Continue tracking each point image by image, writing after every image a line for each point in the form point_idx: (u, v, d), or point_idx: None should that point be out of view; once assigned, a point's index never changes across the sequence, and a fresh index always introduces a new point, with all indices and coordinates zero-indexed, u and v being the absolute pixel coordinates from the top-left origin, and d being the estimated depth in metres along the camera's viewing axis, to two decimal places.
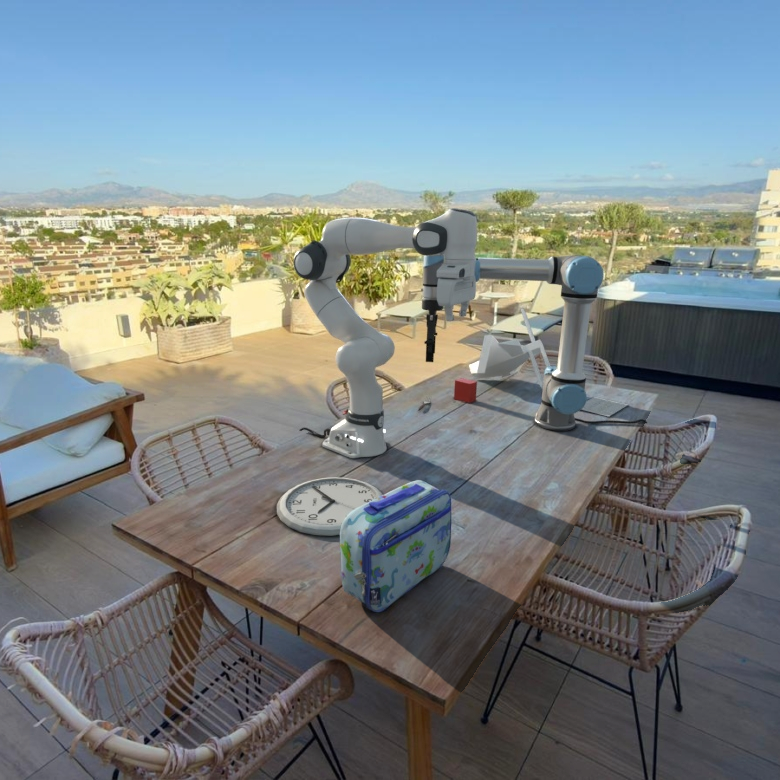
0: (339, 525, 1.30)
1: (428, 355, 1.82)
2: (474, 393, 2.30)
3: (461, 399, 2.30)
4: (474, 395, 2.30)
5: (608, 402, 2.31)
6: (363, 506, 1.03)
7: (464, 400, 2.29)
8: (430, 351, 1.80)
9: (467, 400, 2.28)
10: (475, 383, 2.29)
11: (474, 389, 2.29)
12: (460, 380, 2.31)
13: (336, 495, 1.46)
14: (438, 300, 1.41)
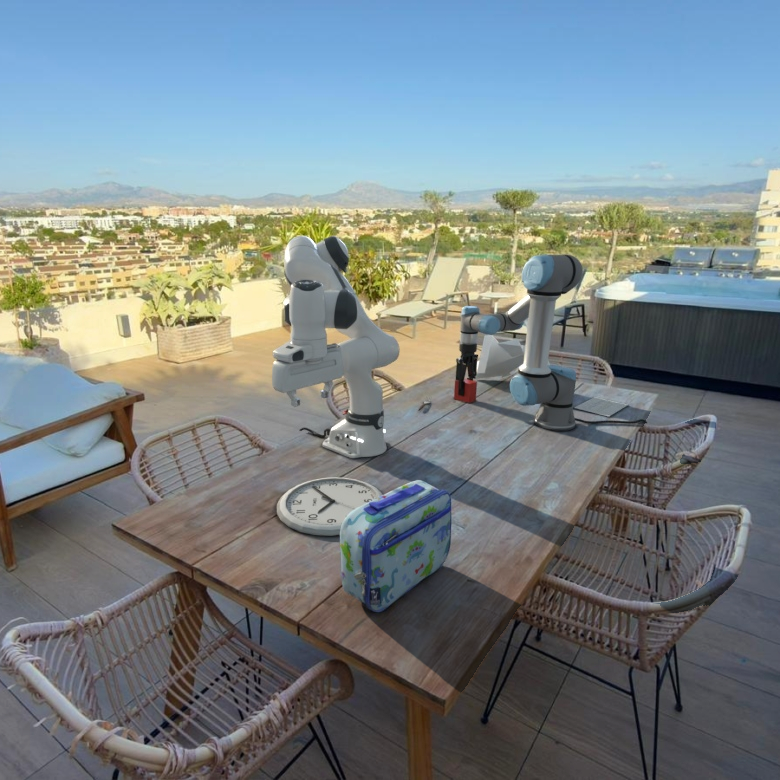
0: (339, 525, 1.30)
1: (460, 389, 2.29)
2: (474, 393, 2.30)
3: (461, 399, 2.30)
4: (474, 395, 2.30)
5: (608, 402, 2.31)
6: (363, 506, 1.03)
7: (464, 400, 2.29)
8: (460, 387, 2.27)
9: (467, 400, 2.28)
10: (475, 383, 2.29)
11: (474, 389, 2.29)
12: None
13: (336, 495, 1.46)
14: (273, 385, 1.24)
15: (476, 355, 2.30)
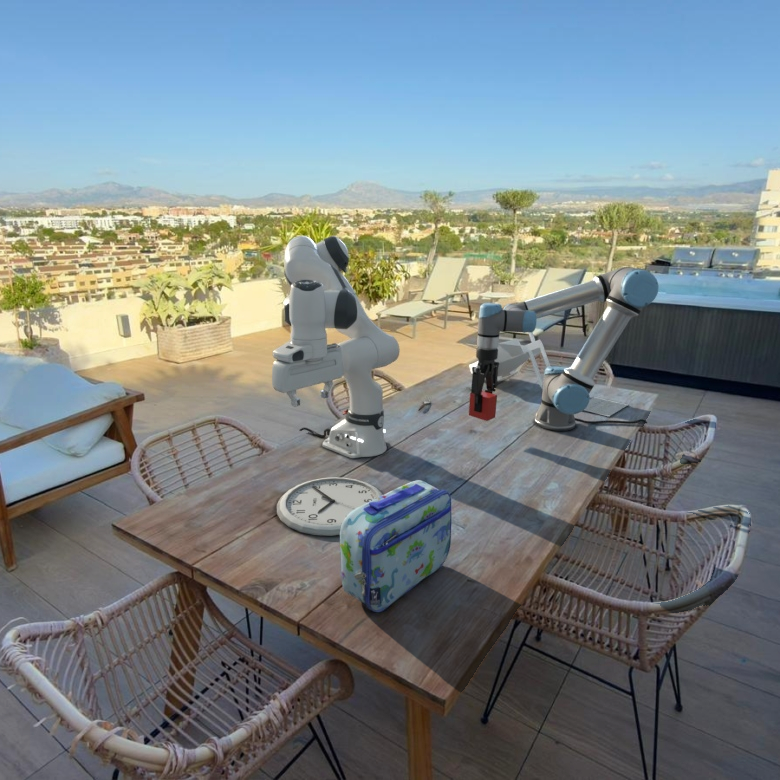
0: (339, 525, 1.30)
1: (476, 404, 1.89)
2: (493, 409, 1.90)
3: (477, 416, 1.90)
4: (493, 411, 1.90)
5: (608, 402, 2.31)
6: (363, 506, 1.03)
7: (481, 417, 1.89)
8: (476, 401, 1.87)
9: (485, 417, 1.88)
10: (495, 397, 1.88)
11: (493, 404, 1.89)
12: None
13: (336, 495, 1.46)
14: (273, 385, 1.24)
15: (497, 363, 1.90)
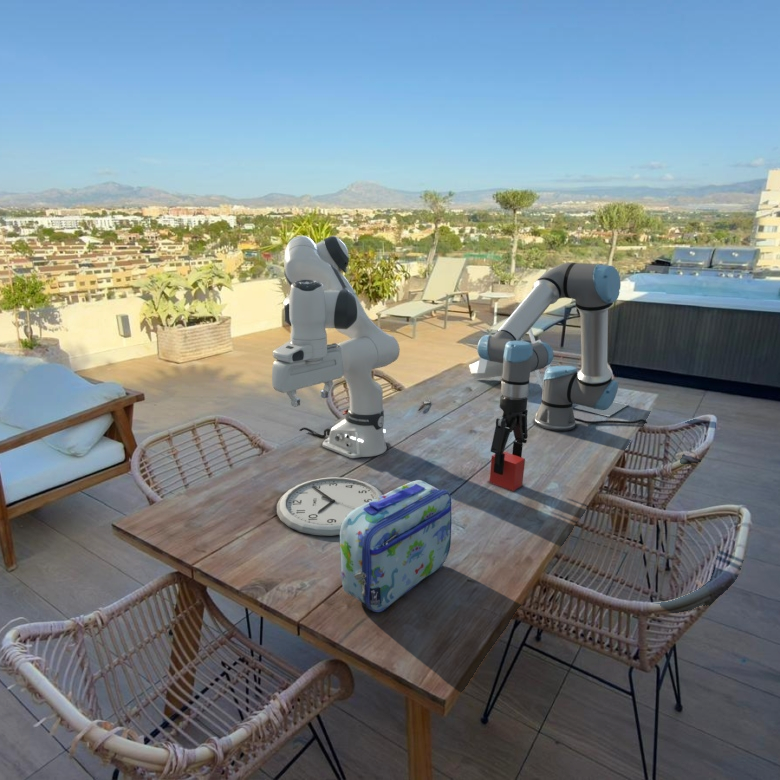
0: (339, 525, 1.30)
1: (496, 465, 1.51)
2: (521, 476, 1.54)
3: (501, 484, 1.54)
4: (520, 478, 1.54)
5: None
6: (363, 506, 1.03)
7: (506, 486, 1.53)
8: (497, 462, 1.49)
9: (511, 487, 1.52)
10: (522, 461, 1.53)
11: (521, 470, 1.53)
12: None
13: (336, 495, 1.46)
14: (273, 385, 1.24)
15: (525, 411, 1.53)
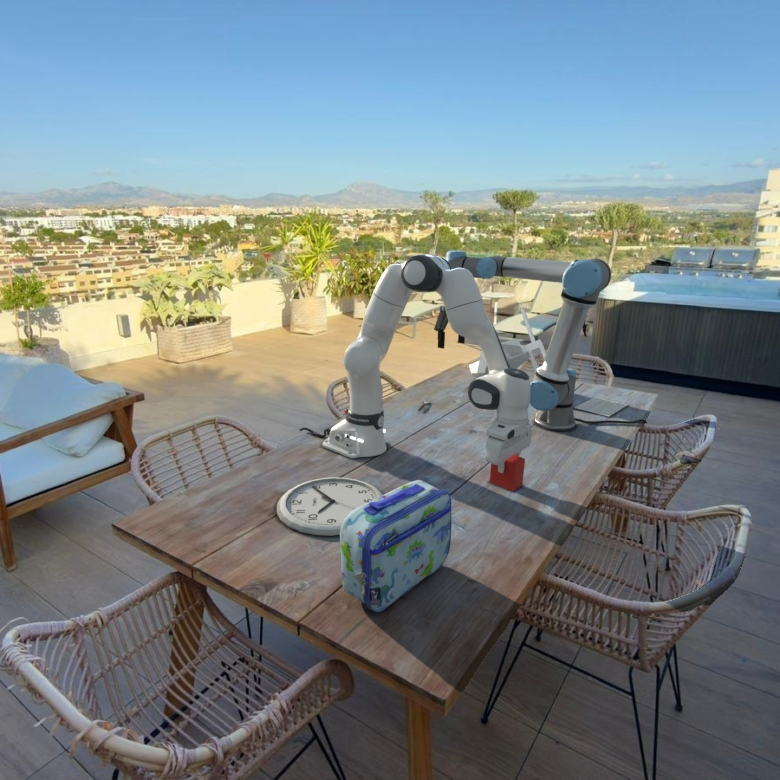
0: (339, 525, 1.30)
1: (439, 341, 2.04)
2: (521, 476, 1.54)
3: (501, 484, 1.54)
4: (521, 478, 1.54)
5: (608, 402, 2.31)
6: (363, 506, 1.03)
7: (506, 486, 1.53)
8: (439, 338, 2.02)
9: (511, 487, 1.52)
10: (522, 461, 1.53)
11: (521, 470, 1.53)
12: None
13: (336, 495, 1.46)
14: (486, 457, 1.47)
15: None
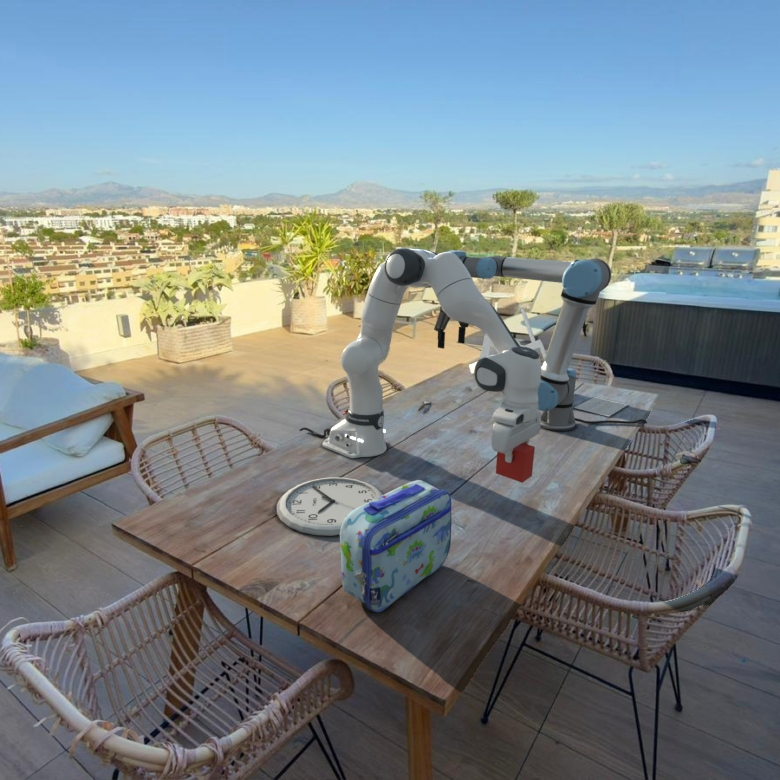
0: (339, 525, 1.30)
1: (439, 341, 2.04)
2: (530, 466, 1.40)
3: (509, 475, 1.40)
4: (530, 469, 1.40)
5: (608, 402, 2.31)
6: (363, 506, 1.03)
7: (514, 477, 1.39)
8: (439, 338, 2.02)
9: (519, 478, 1.38)
10: (532, 450, 1.39)
11: (530, 459, 1.39)
12: None
13: (336, 495, 1.46)
14: (492, 445, 1.33)
15: None
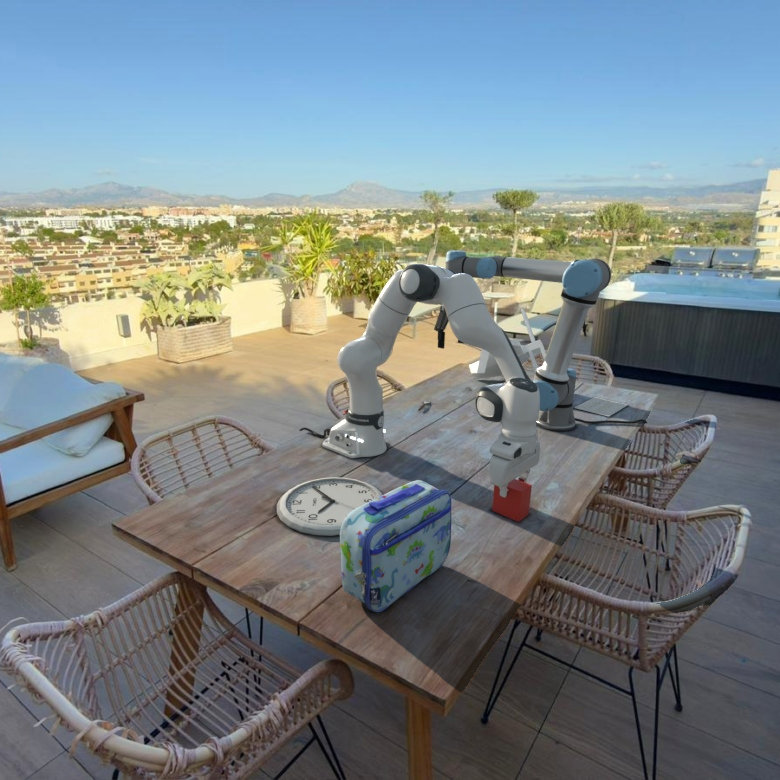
0: (339, 525, 1.30)
1: (439, 341, 2.04)
2: (527, 504, 1.38)
3: (505, 513, 1.39)
4: (527, 507, 1.38)
5: (608, 402, 2.31)
6: (363, 506, 1.03)
7: (510, 516, 1.38)
8: (439, 338, 2.02)
9: (516, 517, 1.37)
10: (529, 488, 1.37)
11: (527, 498, 1.37)
12: None
13: (336, 495, 1.46)
14: (490, 479, 1.31)
15: None
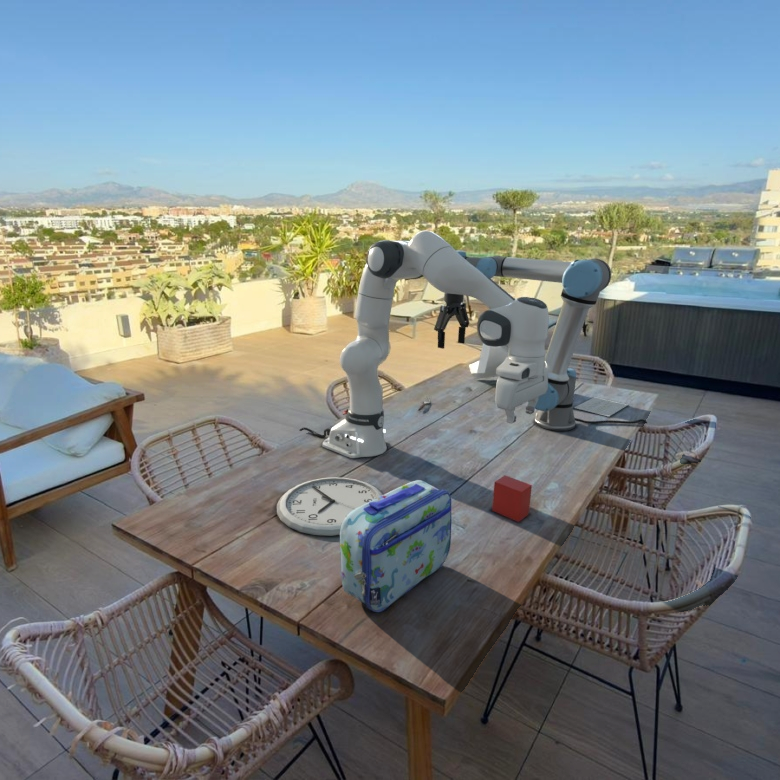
0: (339, 525, 1.30)
1: (439, 341, 2.04)
2: (527, 504, 1.38)
3: (505, 513, 1.39)
4: (527, 507, 1.38)
5: (608, 402, 2.31)
6: (363, 506, 1.03)
7: (510, 516, 1.38)
8: (439, 338, 2.02)
9: (516, 517, 1.37)
10: (529, 488, 1.37)
11: (527, 498, 1.37)
12: (503, 482, 1.39)
13: (336, 495, 1.46)
14: (496, 402, 1.24)
15: (463, 304, 2.08)
